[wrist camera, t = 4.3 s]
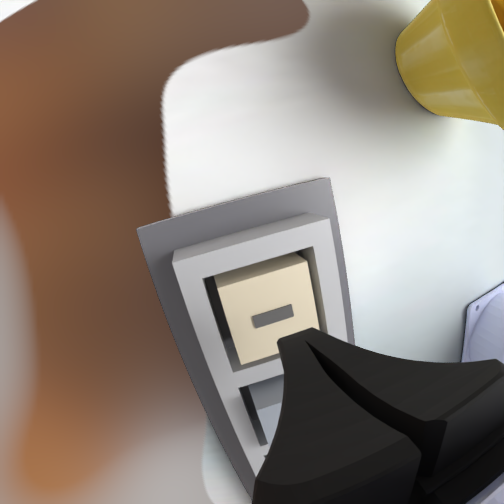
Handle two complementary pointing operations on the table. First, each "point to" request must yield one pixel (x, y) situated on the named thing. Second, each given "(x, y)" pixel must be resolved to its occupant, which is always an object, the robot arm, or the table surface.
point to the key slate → (268, 403)
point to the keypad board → (210, 306)
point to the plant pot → (456, 59)
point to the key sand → (267, 304)
